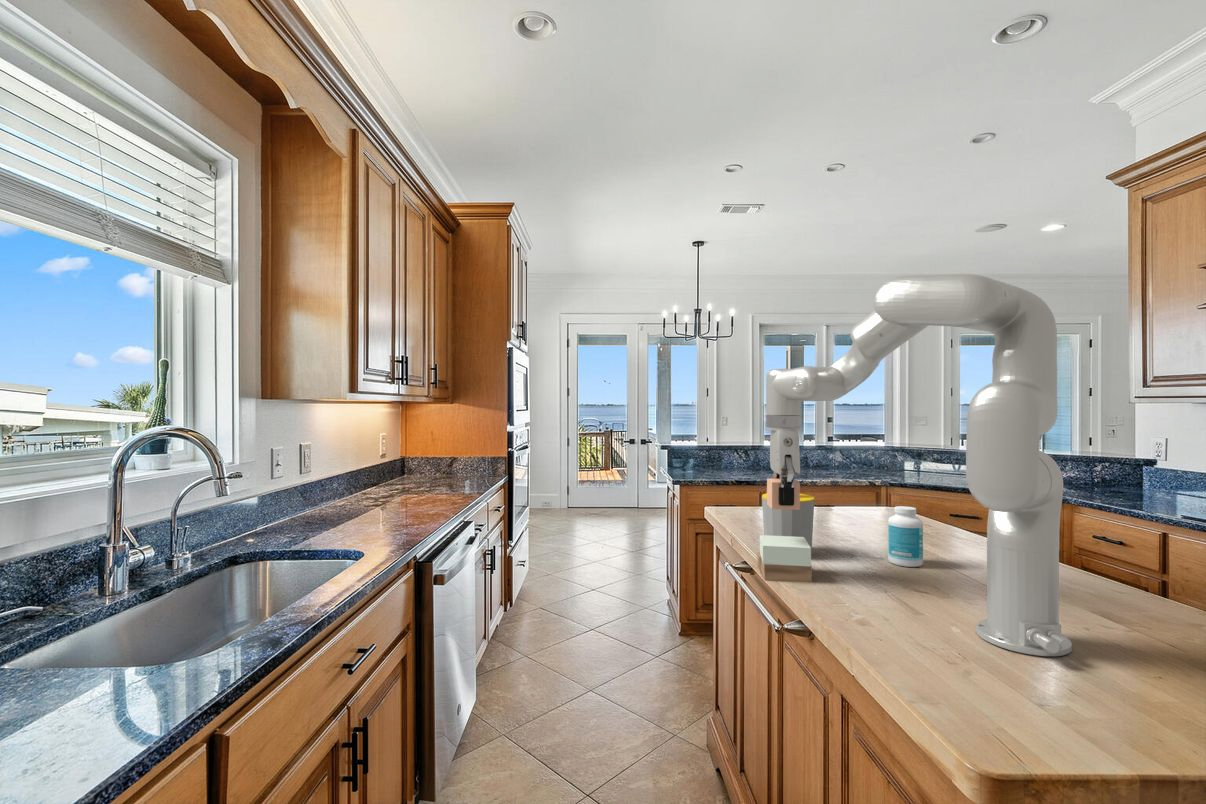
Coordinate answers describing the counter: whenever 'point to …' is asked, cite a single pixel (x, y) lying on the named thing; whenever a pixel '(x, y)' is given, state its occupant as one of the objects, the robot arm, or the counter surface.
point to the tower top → (785, 550)
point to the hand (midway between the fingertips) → (783, 501)
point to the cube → (774, 495)
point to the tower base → (784, 572)
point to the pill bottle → (905, 537)
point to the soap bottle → (790, 519)
